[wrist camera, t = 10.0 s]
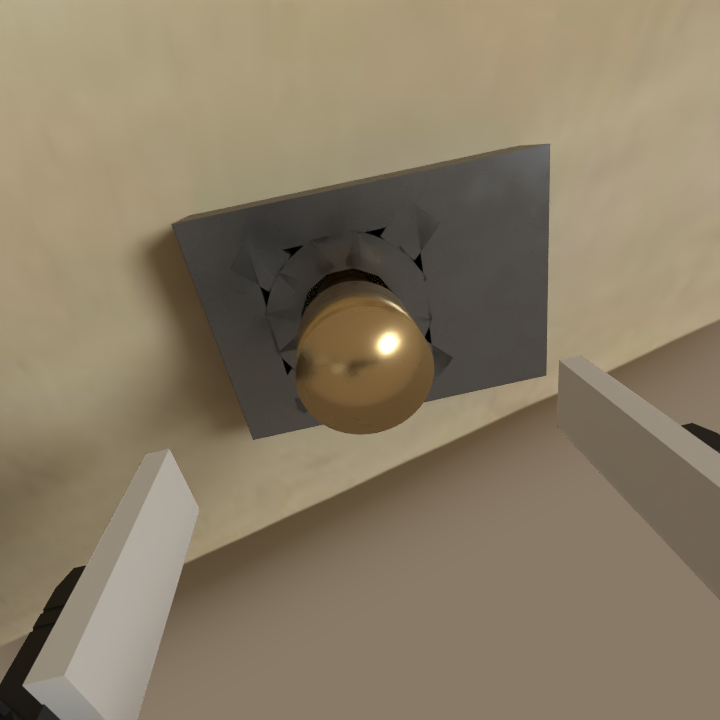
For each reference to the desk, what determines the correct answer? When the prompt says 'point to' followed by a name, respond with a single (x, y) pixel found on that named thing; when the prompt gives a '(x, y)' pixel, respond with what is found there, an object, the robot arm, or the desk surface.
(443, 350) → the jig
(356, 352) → the knob
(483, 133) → the desk surface
